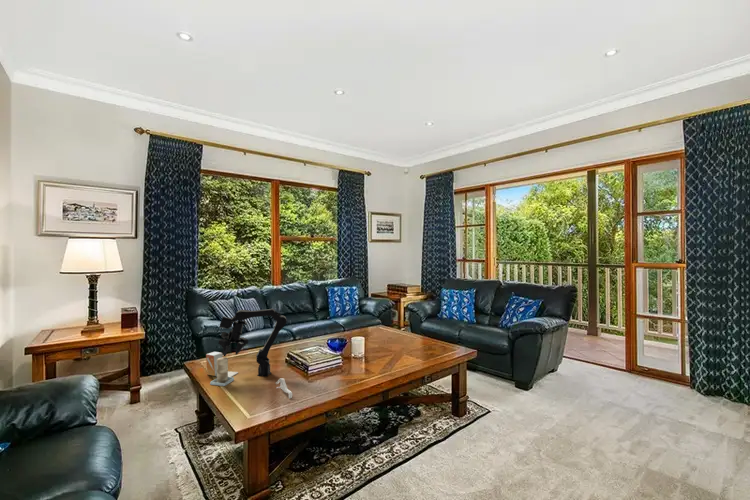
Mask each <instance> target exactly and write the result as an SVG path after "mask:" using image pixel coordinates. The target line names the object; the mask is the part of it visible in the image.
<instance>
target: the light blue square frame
mask: <svg viewBox="0 0 750 500" xmlns="http://www.w3.org/2000/svg"><path fill="white" fill-rule="evenodd" d="M234 380H235V378H234V376H233V377H228V381H227V382H225V383H218V382H217V377H216V378H215V379H213V380H211V381H210V382H209V385H212V386H220V387H225V386H228V384H230V383H231V382H234Z"/></svg>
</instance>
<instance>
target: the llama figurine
mask: <svg viewBox="0 0 750 500" xmlns="http://www.w3.org/2000/svg"><path fill="white" fill-rule="evenodd" d="M278 384H279V385H280V386H277V387H275V388H276V389H281V390H282V392H284V393H286V394H288V399H289V400H290V399H292V398H293V392H292V391H291V390H290V389H288V385H287V383H286V380H285V378H282V377H281V378H279V379H278V380H277V381H276V382H275V385H278Z"/></svg>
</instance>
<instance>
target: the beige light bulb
mask: <svg viewBox="0 0 750 500" xmlns="http://www.w3.org/2000/svg"><path fill="white" fill-rule="evenodd" d="M228 371H229V357H226V356H223V357H222V358H218V359H217V376H216V378H217V381H216V382H218V383H225V382H227V381H229V380H228Z"/></svg>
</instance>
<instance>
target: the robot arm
mask: <svg viewBox="0 0 750 500" xmlns="http://www.w3.org/2000/svg"><path fill="white" fill-rule="evenodd" d="M269 316H270V317H272V319H274V320H275V321H276V322H275V325H274V328H273V329H272V331H271V333H270V336H269V337H268V338H267V340H266V343H265V344H264V346H263V347H262V348H259V350H258V352H257V353H256V355H255V356H256V357H255V358H256V360H255V361H256V363H257V364H258V368H257V376H259V377H268V376H269V375H271V374H272V372H271V364H270V359H269V357H268V355H269V351H270V349H271V348H272V346H273V344H274V342H275V340H276V338H277V337H278V335H279V333H280V331H281V330H283V328H284V327H285V326H286V324H287V322H288V321H287V317H286V316H285V315H282V314H280V312H278V311H276V309H274V308H269V309H256V310H248V309H238V310H237V312H236V314H235V315H233V316H232V317H227V316H222V318H221V321H220V323H219V327H218V328H220V329H226V330H229V329H231V330H229V332H226V331H222V332H221V333H220V335H221V337H220V339H219V340H218V344H219V345H220V346H221V347H222V355H223V357H226V356H227V354H228V352H229V350H230V347H231V346H230V345H231V344H236V349H235V356H236V355H238V354H239V353H240V352H241V350H242V349H243V348H244V347H245V346H246V345H248V343H249V339H248V338H246V337H242V336H243V332H242V331H243V326H244V325H245V326H246V325H247V323H248V322H246V320H247V319H248V320H249V319H250V318H258V317H259V318H260V317H269Z"/></svg>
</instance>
